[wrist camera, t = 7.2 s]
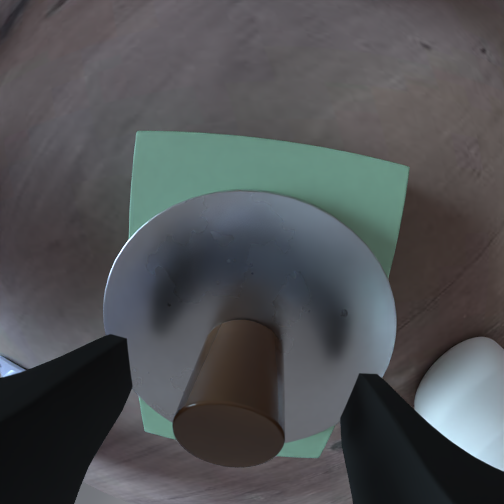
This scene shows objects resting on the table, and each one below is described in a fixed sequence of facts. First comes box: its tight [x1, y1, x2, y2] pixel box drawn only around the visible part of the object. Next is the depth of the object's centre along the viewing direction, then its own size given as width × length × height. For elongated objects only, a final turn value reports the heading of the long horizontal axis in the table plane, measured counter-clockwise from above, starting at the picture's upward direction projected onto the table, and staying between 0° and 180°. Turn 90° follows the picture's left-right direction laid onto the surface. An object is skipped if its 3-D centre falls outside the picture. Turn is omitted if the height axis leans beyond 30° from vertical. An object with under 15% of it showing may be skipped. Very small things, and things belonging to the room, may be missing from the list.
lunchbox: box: [129, 131, 410, 458], centre depth 12 cm, size 14×10×3 cm
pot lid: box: [103, 189, 397, 467], centre depth 8 cm, size 11×11×5 cm
